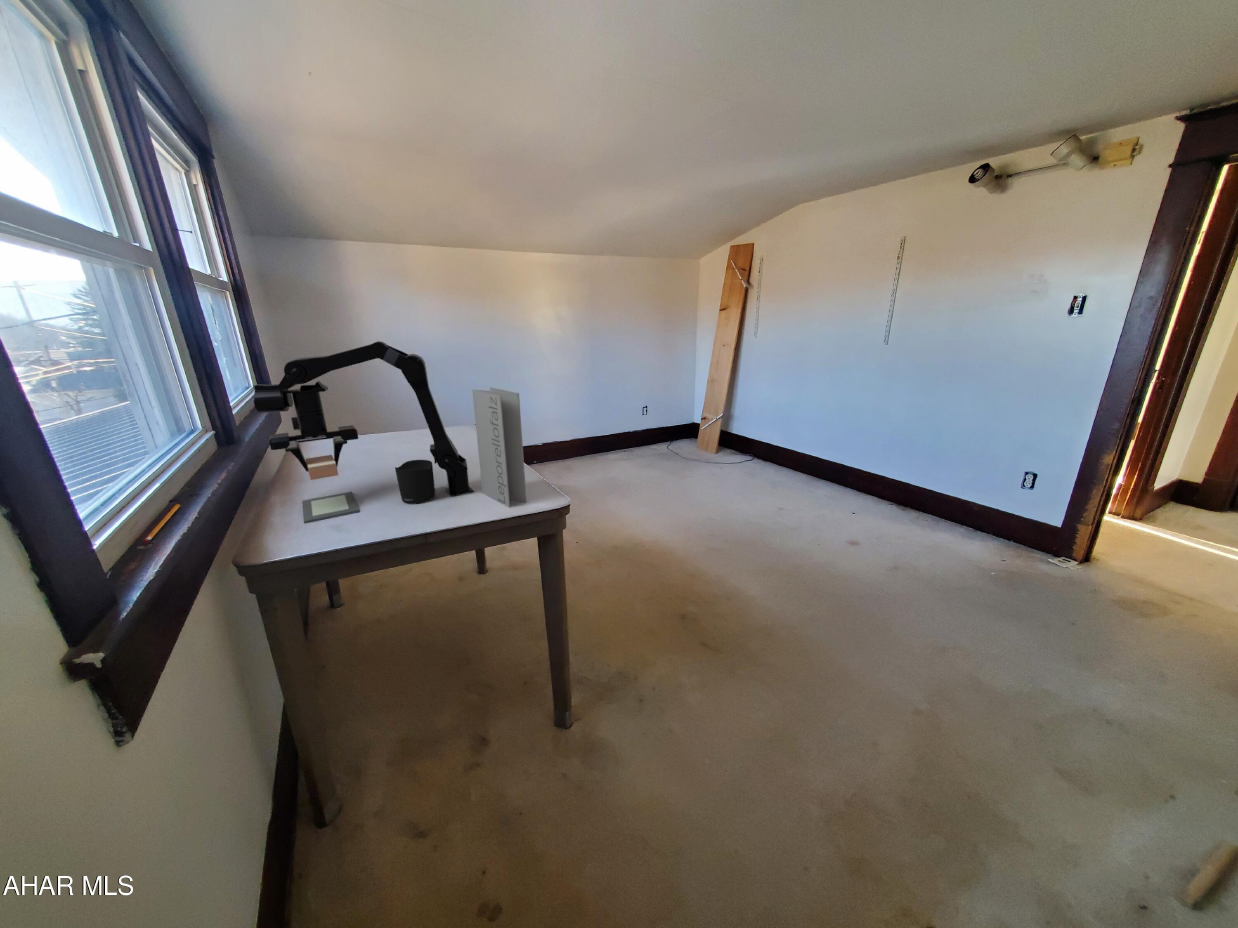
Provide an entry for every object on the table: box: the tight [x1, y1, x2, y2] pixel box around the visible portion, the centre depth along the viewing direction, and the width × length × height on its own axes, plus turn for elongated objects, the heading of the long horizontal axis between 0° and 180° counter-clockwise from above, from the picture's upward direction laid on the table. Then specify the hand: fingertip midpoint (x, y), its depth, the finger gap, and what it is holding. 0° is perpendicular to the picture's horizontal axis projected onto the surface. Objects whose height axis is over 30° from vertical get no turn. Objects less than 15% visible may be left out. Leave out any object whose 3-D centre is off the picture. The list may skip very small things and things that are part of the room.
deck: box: [305, 454, 339, 481], centre depth 120 cm, size 10×6×3 cm, turn 37°
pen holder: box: [394, 459, 436, 505], centre depth 127 cm, size 9×9×10 cm
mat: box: [301, 491, 360, 524], centre depth 123 cm, size 16×12×1 cm
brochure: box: [471, 386, 527, 508], centre depth 125 cm, size 14×6×30 cm, turn 45°
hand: (322, 468), depth 120 cm, fingers closed on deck, 6 cm apart
